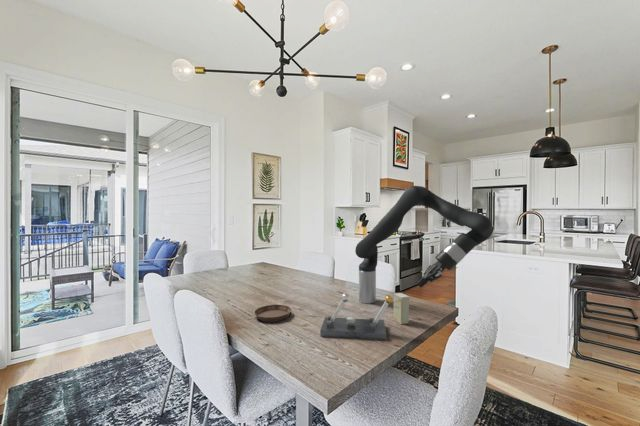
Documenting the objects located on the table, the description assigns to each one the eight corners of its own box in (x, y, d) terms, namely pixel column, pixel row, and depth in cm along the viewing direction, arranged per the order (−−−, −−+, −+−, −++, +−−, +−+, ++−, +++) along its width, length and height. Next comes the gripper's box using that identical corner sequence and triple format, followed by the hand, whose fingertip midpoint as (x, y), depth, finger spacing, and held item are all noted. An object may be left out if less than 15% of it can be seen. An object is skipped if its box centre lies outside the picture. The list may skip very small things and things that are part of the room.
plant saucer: (252, 312, 147) (252, 306, 147) (287, 308, 153) (286, 302, 153) (256, 326, 131) (256, 319, 131) (295, 320, 137) (295, 314, 136)
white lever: (328, 318, 128) (344, 291, 126) (333, 322, 127) (349, 295, 126) (327, 322, 124) (343, 294, 122) (332, 325, 123) (349, 297, 122)
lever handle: (370, 320, 125) (387, 293, 123) (376, 324, 124) (392, 296, 123) (371, 324, 121) (388, 296, 120) (376, 327, 121) (393, 299, 119)
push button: (347, 321, 126) (346, 316, 126) (355, 321, 126) (355, 317, 126) (346, 324, 123) (346, 320, 123) (355, 324, 122) (355, 320, 122)
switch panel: (325, 322, 133) (325, 312, 133) (384, 325, 129) (383, 315, 129) (320, 336, 119) (320, 325, 119) (386, 340, 115) (386, 328, 115)
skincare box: (393, 319, 136) (392, 293, 136) (401, 318, 137) (401, 292, 137) (401, 324, 130) (401, 297, 130) (409, 323, 132) (409, 296, 131)
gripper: (439, 247, 124) (409, 275, 127) (448, 251, 111) (414, 283, 113) (452, 259, 124) (422, 287, 126) (463, 266, 111) (429, 297, 113)
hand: (418, 285), depth 120 cm, fingers closed
